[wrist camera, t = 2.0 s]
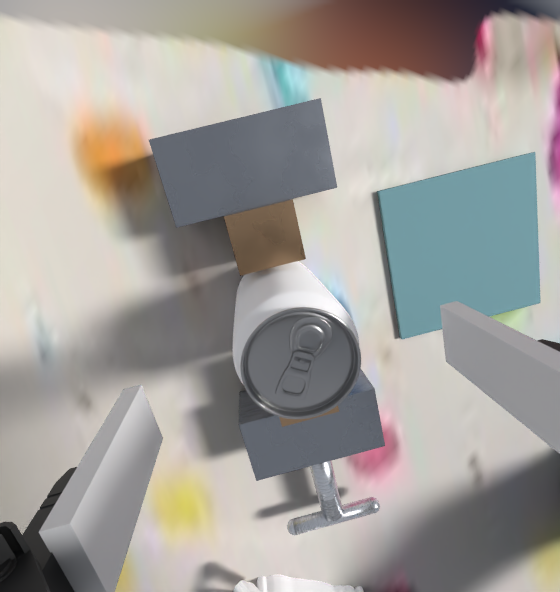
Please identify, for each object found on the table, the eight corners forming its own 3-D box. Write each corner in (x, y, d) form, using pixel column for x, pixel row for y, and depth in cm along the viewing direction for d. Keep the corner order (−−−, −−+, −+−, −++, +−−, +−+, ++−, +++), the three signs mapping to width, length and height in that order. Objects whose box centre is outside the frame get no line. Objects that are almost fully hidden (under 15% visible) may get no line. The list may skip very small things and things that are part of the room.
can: (330, 269, 28) (391, 320, 16) (303, 344, 29) (342, 439, 18) (249, 245, 27) (253, 280, 15) (226, 324, 28) (214, 411, 17)
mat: (536, 301, 30) (540, 302, 30) (399, 337, 30) (401, 339, 30) (531, 152, 27) (535, 152, 27) (377, 191, 27) (379, 191, 26)
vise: (379, 483, 34) (407, 542, 28) (276, 512, 33) (283, 577, 28) (307, 115, 25) (326, 90, 19) (165, 150, 25) (141, 135, 19)
